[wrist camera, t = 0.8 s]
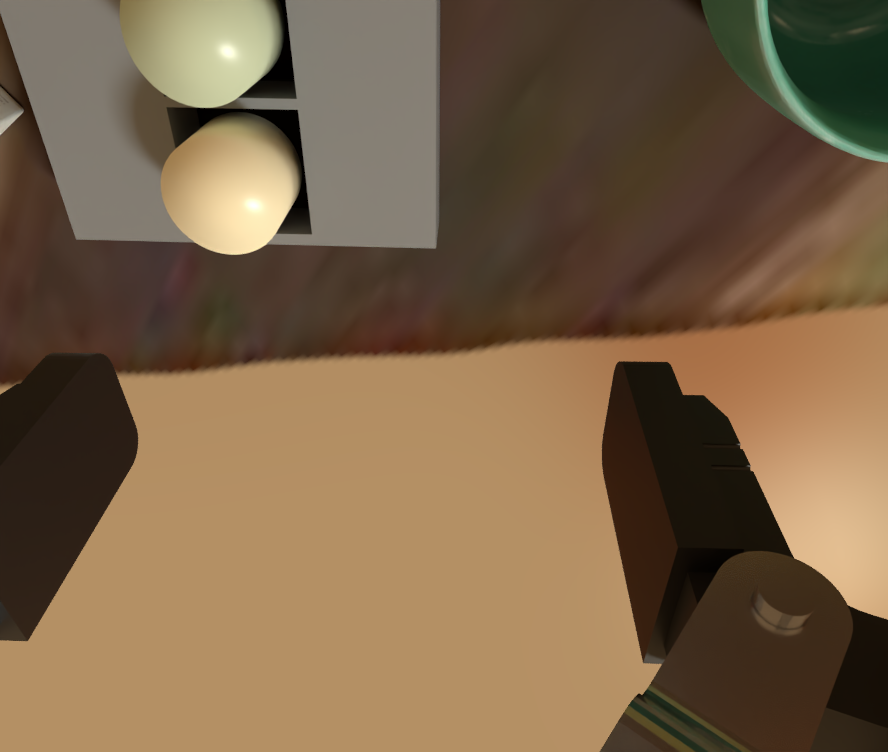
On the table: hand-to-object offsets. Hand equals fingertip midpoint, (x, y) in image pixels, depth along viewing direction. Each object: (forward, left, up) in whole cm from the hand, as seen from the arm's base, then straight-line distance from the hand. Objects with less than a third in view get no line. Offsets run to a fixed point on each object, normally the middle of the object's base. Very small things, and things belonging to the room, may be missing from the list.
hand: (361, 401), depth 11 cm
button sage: (-3, -8, -19) cm, 21 cm away
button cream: (+3, -8, -19) cm, 21 cm away
